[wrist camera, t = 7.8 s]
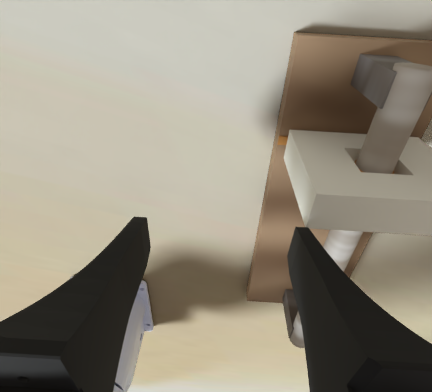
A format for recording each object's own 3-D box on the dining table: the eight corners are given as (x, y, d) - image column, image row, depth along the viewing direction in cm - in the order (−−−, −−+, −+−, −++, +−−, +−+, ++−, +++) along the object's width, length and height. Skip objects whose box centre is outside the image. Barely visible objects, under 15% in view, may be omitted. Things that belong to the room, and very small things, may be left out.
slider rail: (331, 295, 30) (350, 354, 25) (246, 290, 30) (249, 348, 25) (454, 41, 16) (552, 66, 11) (294, 32, 16) (321, 52, 11)
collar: (404, 165, 19) (475, 238, 13) (283, 158, 19) (305, 228, 13) (418, 137, 18) (502, 205, 12) (289, 129, 18) (316, 194, 12)
